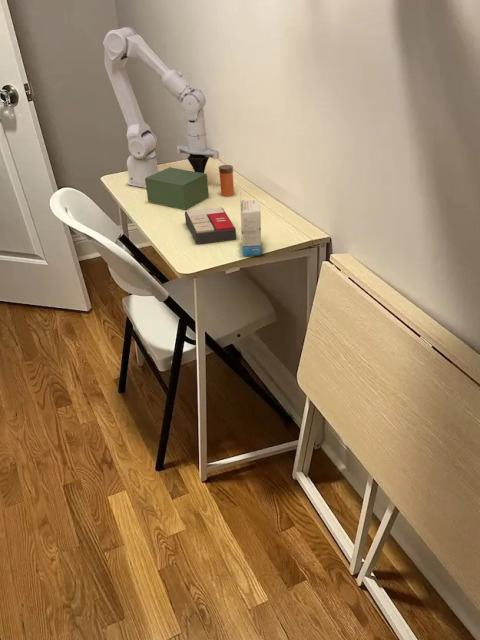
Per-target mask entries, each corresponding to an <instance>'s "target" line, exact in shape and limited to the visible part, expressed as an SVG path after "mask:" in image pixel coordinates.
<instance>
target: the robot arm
mask: <svg viewBox="0 0 480 640" xmlns="http://www.w3.org/2000/svg"><path fill="white" fill-rule="evenodd" d="M102 44H103V47H104V56H103V57H104V60H103V61H104V62H103V63H104V68H105V71H106V73H107V76H108V78H109V81H110V84H111V86H112V89H113V91H114V94H115V98H116V100H117V102H118V105H119V108H120V110H121V113H122V115H123V118H124V121H125V123H126V126H127V130H126V139H127V141H128V143H127V146H128V147H127V148H128V152H129V153H130V155H129V156H128V158H127V160H126V168H127V173H128V174H127V175H128V183H127V185H128V186H134V187H137V188H143V189H146V182H145V178H147V177H149V176H151V175H153V174H156V173H158V172H159V167H158V161H157V160H158V159H157V153H156V149H157V148H158V145H159V142H158V138H157V136H156V135H155V134H154V133H153V131H152V129H151V127H150V125H149V124H148V123H147V122H145V120H144V117H143V114H142V112H141V109H140V107H139V103H138V101H137V97H136V95H135V93H134V90H133V87H132V84H131V81H130V79H129V76H128V75H129V74H128V73H127V69H126V67H125V66H126V64H127V62H128V60H129V58H134V59H139V60H140V61H142V62H143V63H144V64H145V65H146V66H147V67H148V68H149V69H150V70H151V71H153V73H154V74H156V75H157V76H158V77H159V78H160V79H161V82H162V87H164V88H165V89H166V90H167V91H168V92H169V93H170V94H171V95H172V96H173V97H174V98H175V99H176V100H177V101H178V103H180V107H181V109H182V111H183V112H184V115H185V127H186V138H187V145H182V144H180V145H178V146H176V148H177V149H176V152H177V154H186V155H189V156H187V161H188V162H189V164H190V166H191V167H192V169H193V172H199V173H204V174H205V171H206V167H207V163H208V161H209V159H210V158H212V159H213V160H217V159H219V158H220V151H219V150H214V149H212V148H209V147H208V146H207V133H206V122H205V110H204V109H205V106H206V103H207V101H206V96H205V94H204V93H203V91H202V90H200V89H198V88H195V86H194V85H193V84H190V82H188V81H187V80H186V79H185V77H183V73H182V72H181V71H180V70H179V71H177V70H176V69H170V68H169V67H168V65H166V64H165V63H164V62H163V60H161V58H159V56H157V54H156V53H155V52H154V51H153V50H152V49H151V47H150V46H149V45H148V44H147V43H146V41H145V40H144V39H143V37H142V36H141V35H140V34H139V33H138V34H137V32H136V30H135V29H133V28H132V27H129V26H124V27H121V28H118V29H110V30H109V31H108V32H106V34H105V37H104V39H103V41H102Z"/></svg>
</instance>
